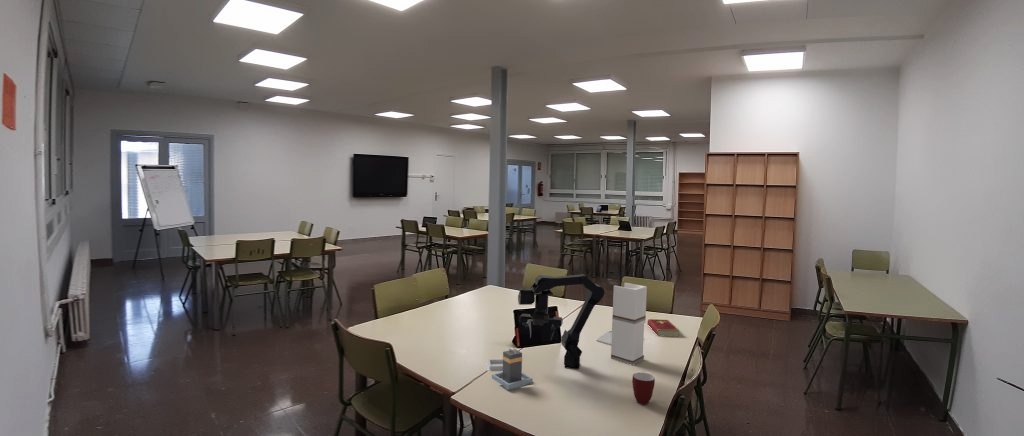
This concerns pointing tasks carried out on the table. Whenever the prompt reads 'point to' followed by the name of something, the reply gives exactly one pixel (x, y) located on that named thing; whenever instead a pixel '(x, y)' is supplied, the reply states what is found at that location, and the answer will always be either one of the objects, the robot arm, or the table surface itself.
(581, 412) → the table surface
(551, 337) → the robot arm
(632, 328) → the banded white pillar
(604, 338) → the gadget
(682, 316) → the table surface
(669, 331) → the hardcover book
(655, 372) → the table surface
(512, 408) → the table surface
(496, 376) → the light blue square frame
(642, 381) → the mug
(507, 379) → the block
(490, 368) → the dock
